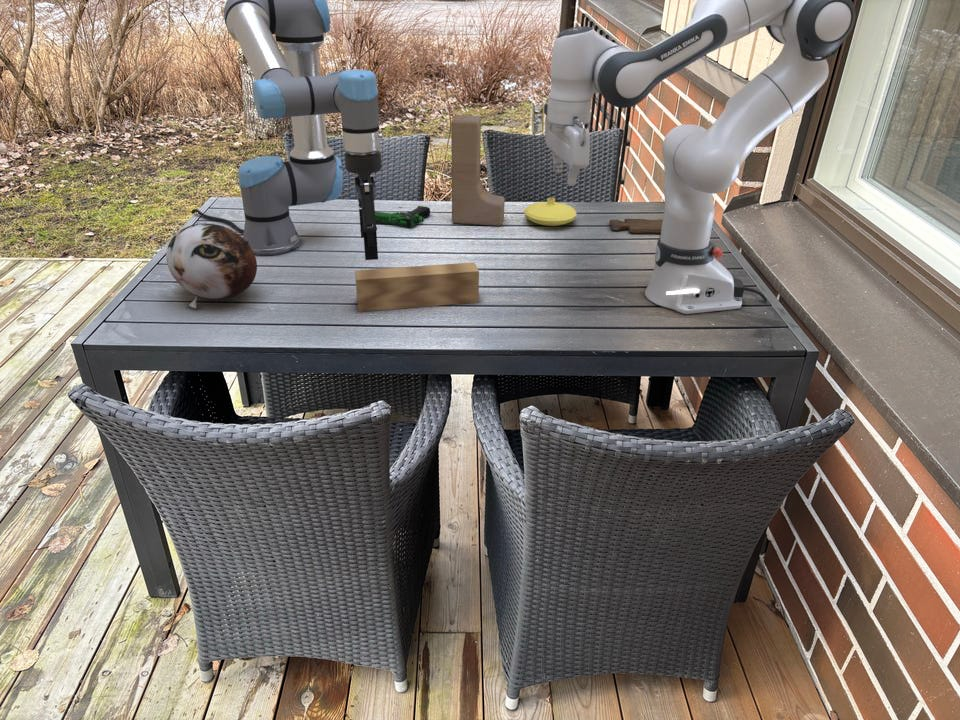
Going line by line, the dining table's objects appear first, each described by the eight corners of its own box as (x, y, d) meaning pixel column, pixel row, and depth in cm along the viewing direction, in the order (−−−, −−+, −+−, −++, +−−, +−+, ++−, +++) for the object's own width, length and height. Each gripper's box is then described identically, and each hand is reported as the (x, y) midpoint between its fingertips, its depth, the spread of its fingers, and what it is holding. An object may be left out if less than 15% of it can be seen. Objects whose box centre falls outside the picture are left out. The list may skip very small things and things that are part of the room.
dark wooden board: (700, 236, 208) (693, 224, 217) (701, 230, 207) (694, 219, 216) (612, 233, 208) (607, 221, 217) (613, 227, 207) (608, 216, 216)
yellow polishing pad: (541, 209, 225) (542, 187, 222) (585, 220, 218) (587, 197, 214) (513, 223, 214) (514, 200, 211) (559, 234, 206) (560, 211, 203)
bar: (358, 312, 163) (356, 279, 159) (357, 301, 168) (354, 270, 164) (478, 302, 168) (479, 271, 164) (474, 292, 173) (474, 262, 169)
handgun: (435, 206, 218) (413, 220, 206) (436, 216, 220) (413, 230, 208) (389, 200, 224) (364, 213, 212) (389, 209, 225) (365, 223, 213)
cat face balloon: (130, 285, 161) (164, 203, 163) (192, 308, 177) (221, 233, 178) (195, 307, 151) (229, 220, 152) (254, 330, 166) (285, 250, 168)
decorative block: (501, 226, 212) (504, 122, 196) (451, 223, 213) (450, 120, 198) (504, 218, 218) (507, 116, 203) (455, 215, 220) (455, 114, 204)
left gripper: (386, 166, 138) (391, 268, 149) (375, 136, 159) (381, 227, 170) (347, 168, 137) (355, 270, 147) (341, 137, 158) (349, 229, 168)
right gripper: (600, 123, 141) (593, 191, 148) (568, 102, 158) (564, 164, 165) (570, 124, 140) (564, 193, 147) (541, 103, 157) (537, 166, 164)
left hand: (369, 247), depth 159 cm, fingers open, 13 cm apart
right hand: (564, 178), depth 156 cm, fingers open, 8 cm apart
